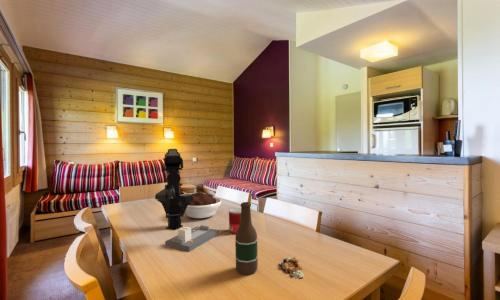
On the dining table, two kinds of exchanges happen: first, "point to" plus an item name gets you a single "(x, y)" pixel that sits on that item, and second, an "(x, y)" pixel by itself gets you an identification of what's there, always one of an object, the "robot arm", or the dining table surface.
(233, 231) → the canned food
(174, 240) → the console plate
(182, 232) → the fader tab
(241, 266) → the beer bottle
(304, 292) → the dining table surface
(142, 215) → the dining table surface
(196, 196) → the white serving bowl
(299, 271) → the pastry
